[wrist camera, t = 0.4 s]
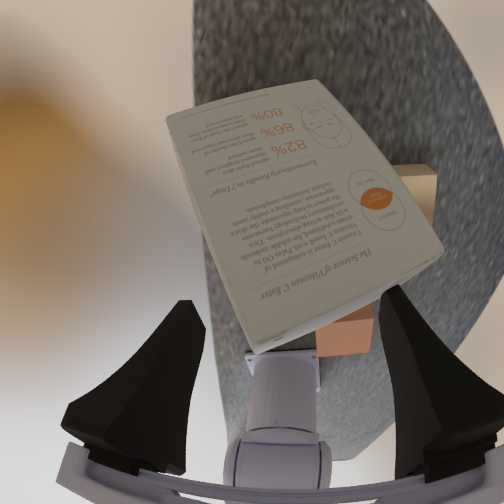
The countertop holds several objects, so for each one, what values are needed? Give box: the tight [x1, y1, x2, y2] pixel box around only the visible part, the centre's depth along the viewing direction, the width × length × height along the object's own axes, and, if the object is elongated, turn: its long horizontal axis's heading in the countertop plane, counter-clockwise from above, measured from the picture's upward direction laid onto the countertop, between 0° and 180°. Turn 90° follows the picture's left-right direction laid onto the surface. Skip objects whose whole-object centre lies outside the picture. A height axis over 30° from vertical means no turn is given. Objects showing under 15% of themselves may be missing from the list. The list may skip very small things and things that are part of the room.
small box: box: [166, 79, 444, 355], centre depth 13 cm, size 8×6×10 cm
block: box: [315, 303, 374, 357], centre depth 22 cm, size 4×4×6 cm
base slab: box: [391, 164, 437, 226], centre depth 19 cm, size 7×7×2 cm
